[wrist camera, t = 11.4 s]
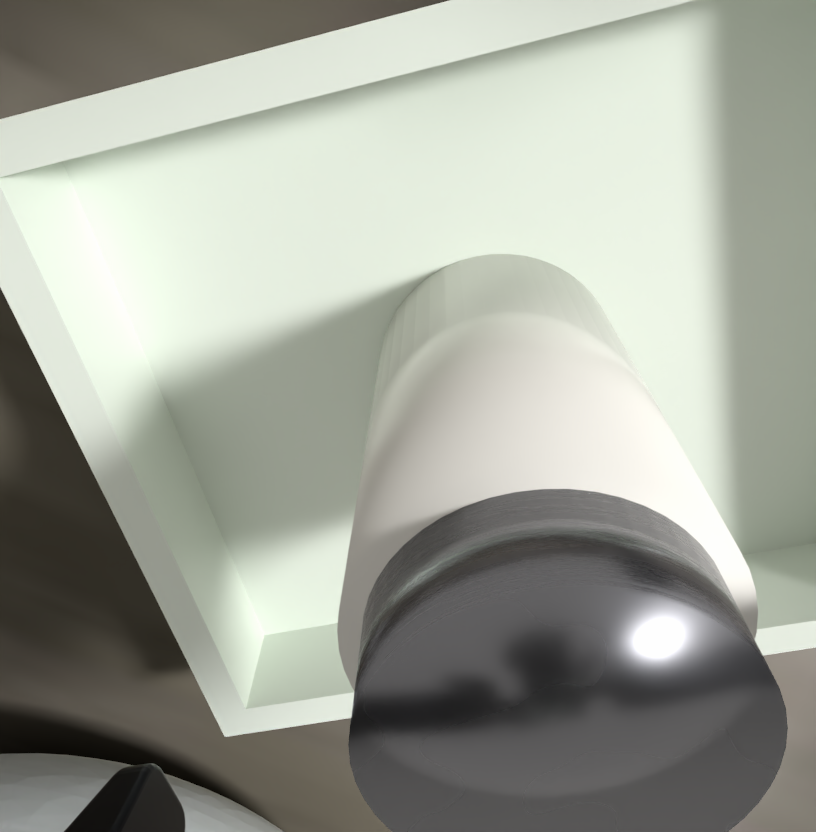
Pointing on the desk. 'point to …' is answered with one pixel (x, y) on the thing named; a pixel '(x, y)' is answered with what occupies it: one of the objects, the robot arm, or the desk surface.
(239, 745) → the desk surface
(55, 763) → the serving bowl
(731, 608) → the cylinder
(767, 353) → the tray
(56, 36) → the desk surface
